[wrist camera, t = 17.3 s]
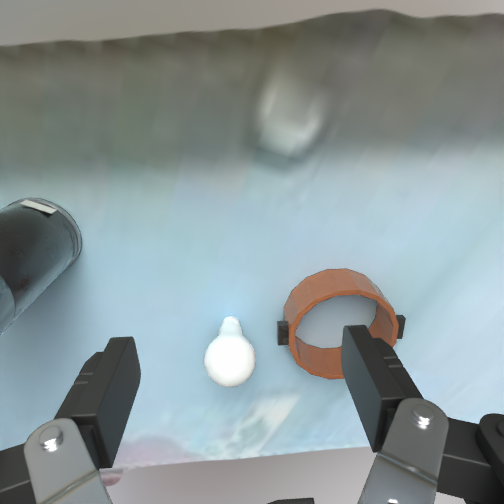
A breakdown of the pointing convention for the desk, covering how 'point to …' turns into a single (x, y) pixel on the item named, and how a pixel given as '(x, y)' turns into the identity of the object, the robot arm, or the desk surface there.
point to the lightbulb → (230, 355)
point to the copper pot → (324, 288)
